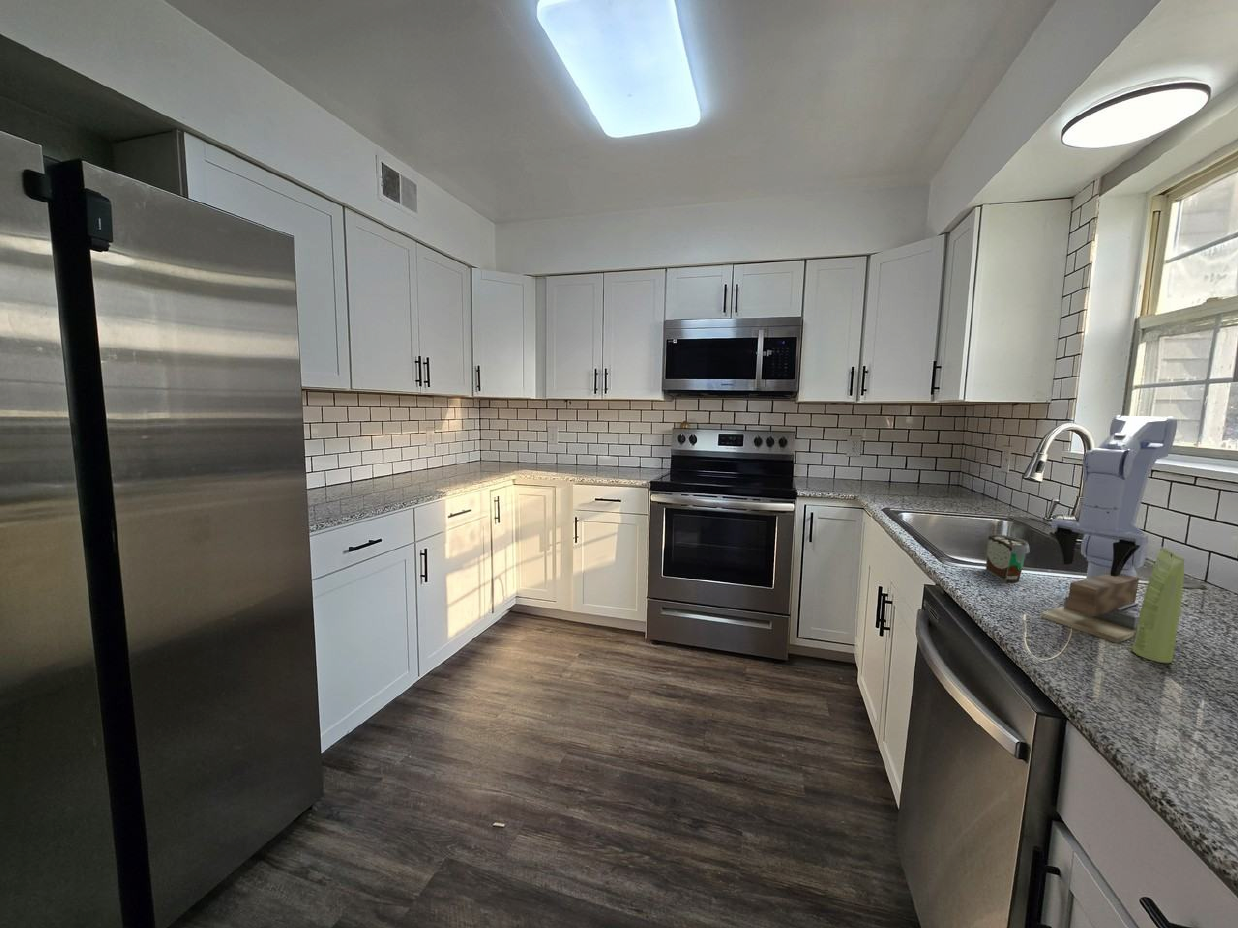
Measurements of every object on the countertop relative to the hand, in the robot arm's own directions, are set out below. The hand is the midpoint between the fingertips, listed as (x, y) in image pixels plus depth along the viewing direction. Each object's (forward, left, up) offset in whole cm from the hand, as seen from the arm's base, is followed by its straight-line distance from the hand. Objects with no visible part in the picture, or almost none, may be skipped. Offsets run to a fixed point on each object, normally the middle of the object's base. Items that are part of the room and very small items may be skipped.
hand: (1090, 569), depth 102 cm
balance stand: (+1, +3, -10) cm, 11 cm away
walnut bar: (+1, +3, -7) cm, 7 cm away
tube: (+11, +14, -11) cm, 20 cm away
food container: (-12, -20, -11) cm, 26 cm away
